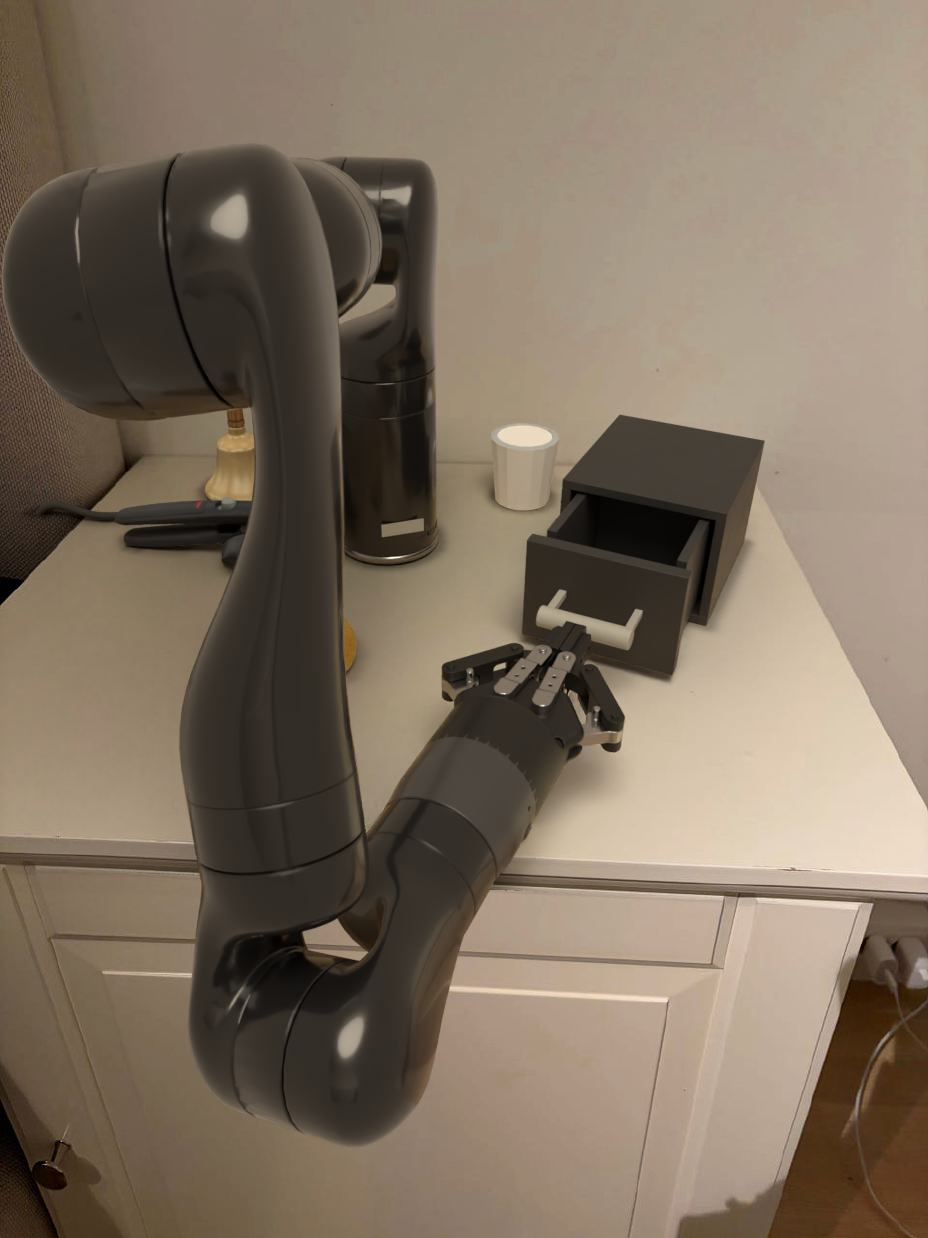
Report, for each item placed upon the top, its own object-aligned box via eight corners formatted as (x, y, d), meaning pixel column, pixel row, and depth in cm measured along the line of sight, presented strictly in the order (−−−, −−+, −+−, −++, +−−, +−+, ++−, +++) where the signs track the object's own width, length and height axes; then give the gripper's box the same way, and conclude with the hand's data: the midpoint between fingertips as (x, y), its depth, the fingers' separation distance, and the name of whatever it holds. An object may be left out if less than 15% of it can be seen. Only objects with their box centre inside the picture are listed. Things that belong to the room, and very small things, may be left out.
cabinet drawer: (656, 710, 67) (672, 609, 62) (499, 664, 72) (503, 567, 67) (714, 584, 82) (732, 494, 77) (581, 553, 86) (589, 465, 81)
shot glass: (550, 516, 93) (554, 452, 90) (483, 509, 95) (484, 445, 91) (558, 486, 99) (563, 424, 95) (494, 480, 100) (497, 419, 96)
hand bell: (206, 474, 101) (182, 326, 92) (284, 468, 102) (267, 322, 93) (202, 509, 94) (176, 354, 85) (286, 503, 95) (268, 349, 86)
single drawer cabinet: (706, 626, 78) (727, 513, 72) (554, 587, 83) (562, 479, 77) (743, 542, 90) (764, 440, 84) (608, 513, 94) (619, 414, 88)
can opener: (313, 541, 89) (308, 488, 86) (290, 579, 83) (284, 523, 80) (140, 524, 91) (128, 472, 88) (105, 560, 86) (92, 505, 82)
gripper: (589, 781, 48) (675, 612, 61) (368, 709, 53) (491, 566, 66) (577, 877, 52) (660, 700, 65) (374, 803, 57) (489, 651, 70)
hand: (575, 633), depth 66 cm, fingers closed
